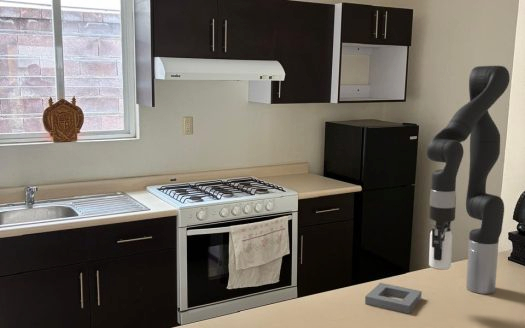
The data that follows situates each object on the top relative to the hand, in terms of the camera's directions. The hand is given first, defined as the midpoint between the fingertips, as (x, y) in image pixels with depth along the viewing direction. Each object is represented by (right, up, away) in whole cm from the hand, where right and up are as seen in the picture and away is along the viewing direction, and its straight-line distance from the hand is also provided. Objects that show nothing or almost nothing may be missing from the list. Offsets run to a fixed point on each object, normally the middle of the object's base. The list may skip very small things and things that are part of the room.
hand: (440, 256), depth 165 cm
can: (0, -3, 0) cm, 3 cm away
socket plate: (-13, -15, +7) cm, 21 cm away
